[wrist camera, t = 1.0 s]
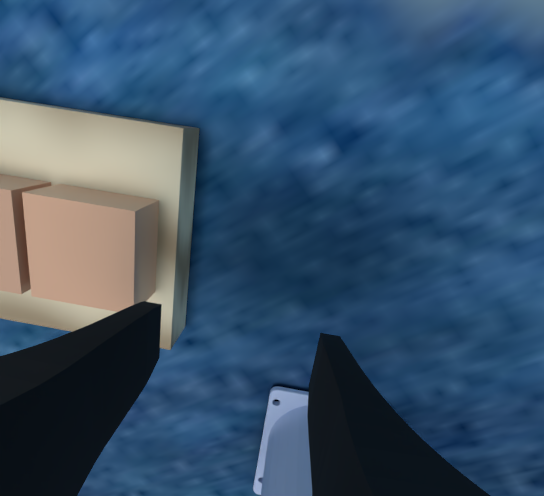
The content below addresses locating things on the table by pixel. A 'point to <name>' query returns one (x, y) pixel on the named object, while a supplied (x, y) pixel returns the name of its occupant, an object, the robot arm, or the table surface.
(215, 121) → the table surface
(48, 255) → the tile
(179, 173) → the board
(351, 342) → the table surface
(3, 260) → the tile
